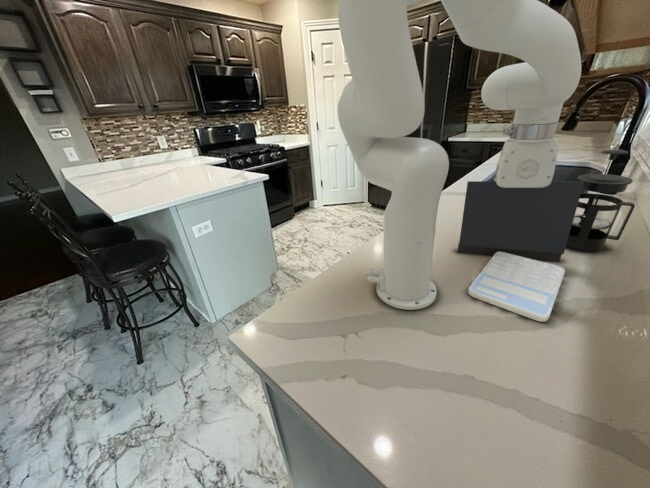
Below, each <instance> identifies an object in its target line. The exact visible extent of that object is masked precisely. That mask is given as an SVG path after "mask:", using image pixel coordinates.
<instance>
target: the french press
mask: <svg viewBox="0 0 650 488" xmlns="http://www.w3.org/2000/svg"><path fill="white" fill-rule="evenodd" d="M600 153H601V154H603V155H609V157H608V160H609V162H608V164H607V166H606V169H605V172H604V173H585V174H584V173H583V174H579V175H577V177H576V180H577V181H584V184H583V188H582V190H584V191H586V192H583V193H582V192H581V195H580V198H579V200H580V199H581V200H582V199H587V202H582V201H579V202H578V205H577V208H578V209H584V210H583V213H582V214H581V213H580V214H579V213H575V216H574V219H573V223H572V226H571V230H570V233H569V237H568V240H567V244H566V247H565V249H568V250H571V251H575V252H580V253H599V252H601V251H603V250H604V248H605V246H604V245H605V243H606V241H607V239H608V240H613V241H619V240H620V238H621V236H622V234H623V232H624V230H625V228H626V226H627V224H628V222H629V219H630V218H631V215H632V213H633V211H634V209H635V207H636V205H635V202H629V201H623V200H622V199H621V198H618V197H616V196H612V195H607V194H619V193H623V192H625V191H626V190H627V189H628V185H630V184H632V183H633V179H632V178H630V177H627V176H624V175H623V176H622V175H618V174H609V173H608V172H609V169H610V168H611V165H612V163H613V161H615V159H616V157H617V156H618V155H627V154H629V151H627V150H625V149H605V150H601V151H600ZM590 192H591V193H590ZM599 201H604V202H609V203H612V204H610V205H609V204H607V205H606V204H598V203H599ZM622 206H627V207H630V208H629V209H628V212H627V213H626V216H625V218H624V220H623V222H622V225H621V227H620V228H619V231H618V233H617V235H610V232H611V230H612V228H613V226H614V224H615V222H616V219H617V217H618V214H619V212H620V211H621V208H622ZM614 211H615V214H614V216H613V218H612V220H611V222H610V220H607V219H605V218H603V217H599V216H598V213H599V212H614ZM604 230H607V231H606V232H605V231H604Z"/></svg>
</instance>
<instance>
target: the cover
mask: <svg viewBox="0 0 650 488" xmlns="http://www.w3.org/2000/svg"><path fill="white" fill-rule="evenodd" d="M583 184H584V181H579V180H575V181H573V180H572V181H571V180H569V181H567V180H566V181H565V180H561V181H560V180H554V181H553V180H552V182H551V184H550V185H549V186H547V187H543V188H503V187H499V186H498V185H497V184H496V181H494V180H490V181H489V180H488V181H485V180H484V181H482V180H481V181H479V180H477V181H475V180H474V181H473V180H470V181H469V180H467V183H466V191H465V199H464V205H463V213H462V220H461V227H460V234H459V241H458V244H459V246H467V247H479V248H491V249H503V250H516V251H528V252H540V253H552V254H562V255H564V254H565V250H566V248H565V247H566V244H567V240H568V237H569V233H570V230H571V226H572V223H573V219H574V216H575V214H576V212H577V209H578V207H577V205H578V202H580V199H579V198H580V195H581V193H582V191H583Z"/></svg>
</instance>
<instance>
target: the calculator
mask: <svg viewBox="0 0 650 488" xmlns="http://www.w3.org/2000/svg"><path fill="white" fill-rule="evenodd" d="M565 272H566V269H565V268H564V267H563V266H560V265H557V264H552V263H548V262H544V261H542V260H538V259H531V258H525V257H521V256H517V255H513V254H509V253H505V252H496V253H495V254H494V255H492V257H491V258H490V259H489V261H488V262H487V263H486V265H485V266H484V267H483V269H482V270H481V271H480V272H479V274H478V275H477V276H476V277H475V279H474V280H473V281H472V283H471V284H470V285H469V287H468V291H467V293H468V296H470V297H472V298H475V299H477V300H480V301H483V302H486V303H488V304H490V305H493V306H496V307H499V308H501V309H504V310H507V311H510V312H512V313H515V314H517V315H520V316H523V317H526V318H528V319H531V320H533V321H536V322H541V323H545V322H547V321H548V320H549V319H550V316H551V313H552V310H553V307H554V305H555V302H556V299H557V296H558V294H559V290H560V287H561V285H562V282H563V279H564V276H565Z"/></svg>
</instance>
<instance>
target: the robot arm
mask: <svg viewBox="0 0 650 488" xmlns="http://www.w3.org/2000/svg"><path fill="white" fill-rule="evenodd" d="M422 1H423V0H338V8H337V9H338V10H337V12H338V13H337V14H338V30H339V36H340V42H341V46H342V49H343V54H344V57H345V60H346V63H347V65H348V70H349V72H350V76H351V80H350V81H348V82H347V83H346V85H345V86H343V89H342V90H341V92H340V95H339V97H338V102H337V118H338V119H337V120H338V122H339V126H340V129H341V131H342V134H343V137H344V139H345V141H346V143H347V146H348V148H349V150H350V153H351V155H352V157H353V160H354V162H355V164H356V167H357V169H358V170H359V172H360V174H361V176H362V177H363V178H364V180H366V181H367V182H368V183H370V184H372V185H375V186H377V187H380V188H383V189H385V190H388V191H390V192H391V196H390V198H389V200H388V203H387V205H386V207H385V209H384V212H383V267H382V268H378V269H377V268H370V267H365V268H364V273H363V274H364V276H365V277H366V278H367V279H366V281H367V283H375V284H376V286H375V287H376V294H377V296H378V297H379V299H380V300H381V301H382V302H384V303H385V304H387V305H388V306H390V307H393V308H396V309H398V310H399V309H401V310H404V311H405V310H406V311H413V310H421V309H425V308H427V307H429V306H430V305H432V304H433V303H434V302H435V300H436V299H437V294H438V293H437V292H438V291H437V287H436V285H435V284H434V282H433V281H432V280H431V274H432V264H433V256H434V246H435V236H436V226H437V218H438V217H437V216H438V210H439V206H440V205H439V204H440V199H441V196H442V193H443V190H444V186H445V184H446V180H447V177H448V173H449V168H450V160H449V155H448V153H447V151H446V150H445V148H444V147H443V146H442V145H441V144H440V143H438V142H436V141H435V140H431V139H428V138H423V137H414V136H413V137H412V136H408V135H411V134H412V133H414V132H415V131H416V130H417V129H418V128H419V127H420V126H421V124H422V122H423V120H424V117H425V111H426V107H425V105H426V103H425V96H424V90H423V87H422V81H421V78H420V72H419V69H418V65H417V60H416V55H415V50H414V47H413V42H412V38H411V31H410V27H409V20H408V6H413V5H416V4H419V3H420V2H422ZM440 2H441V5H442V6H443V8H444V10H445V12H446V13H447V16H448V17H449V19H450V21H451V23H452V26H453V27H454V30H455V31H456V33H457V35H458V37H459V40H460V41H461V42H462V44H464V45H466V46H468V47H471V48H474V49H477V50H482V51H486V52H487V51H488V52H493V53H498V54H499V53H500V54H505V55H508V56H512V57H514V58H517V59H519V60H521V61H523V62H520V63H513V64H509V65H505V66H502V67H500V68H498V69H496V70H494V71H493V72H492V73H490V75H488V77H487V78H486V79H485V81H484V83H483V85H482V88H481V92H480V95H481V96H480V97H481V101H482V103H483V105H484V106H485V107H486V108H489V109H490V110H495V111H514V117H513V121H512V123H511V126H509V127H505V128H503V131H502V135H503V136H508V139H506V140H505V142H504V143H503V146H502V149H501V151H500V154H499V158H498V161H497V164H496V168H495V171H494V179H493V181H496V184H497V185H498V186H499V187H503V188H543V187H547V186H549V185H550V184H551V182H552V181H553V178H554V175H555V170H556V165H557V160H558V155H559V154H558V153H559V143H560V142H559V138H558V137H555V134H556V132H557V129H558V124H559V120H560V117H561V113H562V110H563V106H564V103H565V102H566V101H568V100H569V99H570V98H571V97H572V96H573V94H574V93H575V91H576V90H577V88H578V86H579V83H580V79H581V78H582V77H581V76H582V58H581V57H582V56H581V52H580V47H579V41H578V38H577V34H576V31H575V29H574V27H573V25H572V24H571V23H570V21H569V20H568V19H566V18H565V17H564V16H563V15H562V14H561V13H559V12H557V11H556V10H555V9H553V8H551V6H549V5H547V4H545V3H544V2H541V1H540V0H440Z"/></svg>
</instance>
